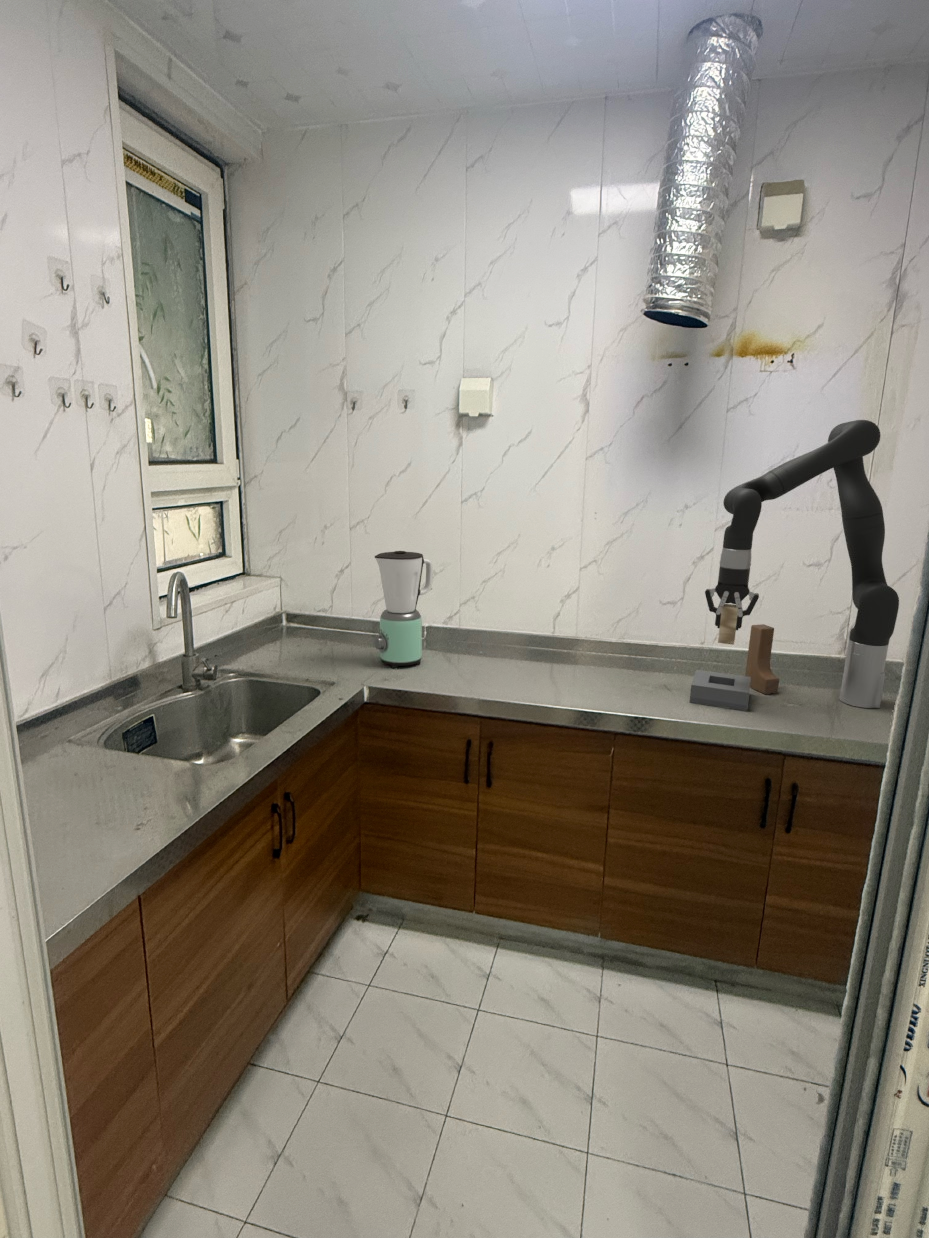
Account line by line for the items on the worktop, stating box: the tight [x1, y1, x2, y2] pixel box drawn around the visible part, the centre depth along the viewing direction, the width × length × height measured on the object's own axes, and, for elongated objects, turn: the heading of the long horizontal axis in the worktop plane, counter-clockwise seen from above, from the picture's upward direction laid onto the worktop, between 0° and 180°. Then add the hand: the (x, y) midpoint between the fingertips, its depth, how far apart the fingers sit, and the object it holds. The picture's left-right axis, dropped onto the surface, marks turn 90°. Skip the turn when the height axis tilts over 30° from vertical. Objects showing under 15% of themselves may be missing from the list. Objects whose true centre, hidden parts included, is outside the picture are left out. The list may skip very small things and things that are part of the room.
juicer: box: [373, 550, 433, 669], centre depth 210 cm, size 19×13×35 cm
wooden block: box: [744, 623, 780, 695], centre depth 193 cm, size 9×4×18 cm, turn 16°
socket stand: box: [689, 669, 751, 712], centre depth 187 cm, size 14×14×5 cm
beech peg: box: [717, 603, 738, 646], centre depth 182 cm, size 4×4×10 cm
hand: (727, 628), depth 183 cm, fingers closed on beech peg, 4 cm apart
